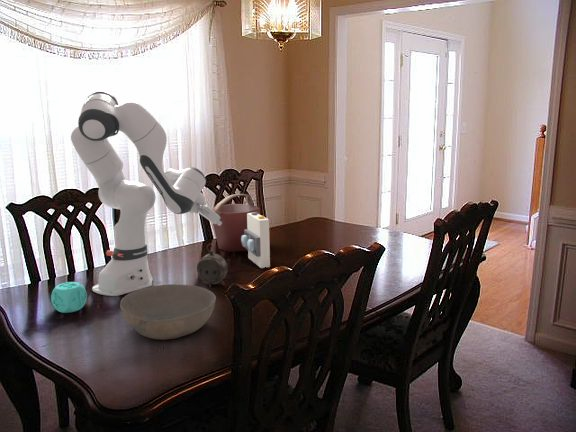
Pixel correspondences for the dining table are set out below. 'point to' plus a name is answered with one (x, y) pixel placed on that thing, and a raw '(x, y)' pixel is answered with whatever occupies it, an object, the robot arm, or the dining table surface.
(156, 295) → the bowl
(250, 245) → the button lit
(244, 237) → the button unlit
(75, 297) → the decorative dice
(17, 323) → the dining table surface
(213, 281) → the alarm clock
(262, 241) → the button panel
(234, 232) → the bucket
